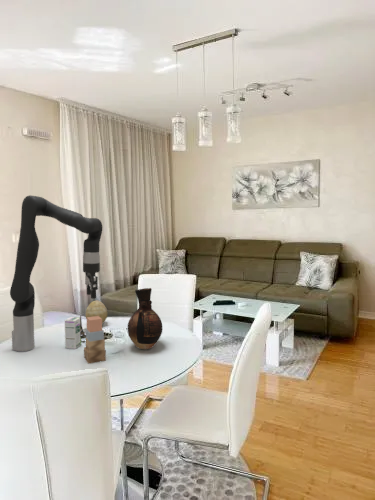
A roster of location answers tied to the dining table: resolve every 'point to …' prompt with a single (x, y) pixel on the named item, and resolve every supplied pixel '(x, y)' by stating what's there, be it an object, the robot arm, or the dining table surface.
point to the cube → (94, 324)
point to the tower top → (94, 335)
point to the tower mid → (95, 345)
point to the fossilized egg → (97, 310)
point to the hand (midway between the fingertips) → (91, 296)
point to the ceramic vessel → (144, 322)
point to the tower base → (94, 356)
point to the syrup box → (72, 332)
